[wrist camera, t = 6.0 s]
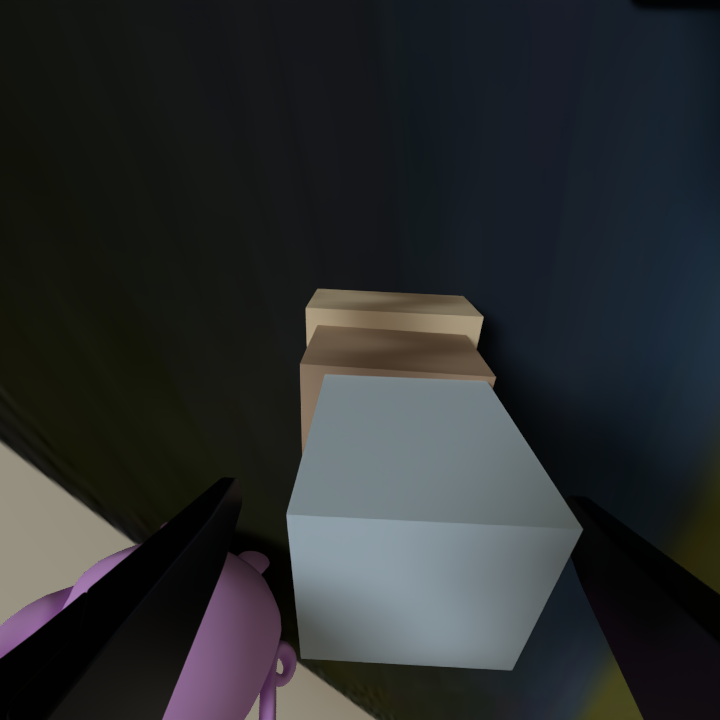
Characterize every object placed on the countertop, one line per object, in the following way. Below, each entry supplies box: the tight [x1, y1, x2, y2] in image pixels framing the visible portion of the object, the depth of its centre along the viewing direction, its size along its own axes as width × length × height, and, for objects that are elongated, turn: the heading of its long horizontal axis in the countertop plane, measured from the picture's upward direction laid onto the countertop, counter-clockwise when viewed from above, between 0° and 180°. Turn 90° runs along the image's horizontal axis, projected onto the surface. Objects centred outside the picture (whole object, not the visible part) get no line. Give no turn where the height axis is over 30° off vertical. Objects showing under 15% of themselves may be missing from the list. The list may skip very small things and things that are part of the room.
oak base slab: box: [306, 289, 484, 349], centre depth 16 cm, size 7×7×4 cm
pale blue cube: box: [287, 374, 583, 670], centre depth 9 cm, size 5×5×5 cm
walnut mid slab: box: [300, 325, 496, 456], centre depth 13 cm, size 6×6×4 cm
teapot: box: [0, 522, 297, 720], centre depth 20 cm, size 20×14×12 cm
